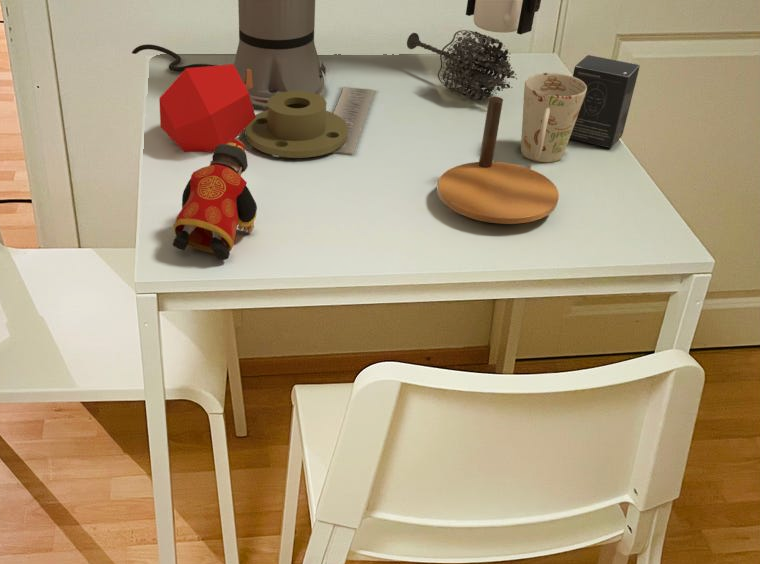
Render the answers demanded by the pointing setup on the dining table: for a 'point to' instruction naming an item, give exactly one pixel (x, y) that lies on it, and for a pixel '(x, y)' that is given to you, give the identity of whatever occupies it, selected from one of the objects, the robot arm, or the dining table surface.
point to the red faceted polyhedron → (206, 107)
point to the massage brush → (471, 64)
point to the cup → (497, 15)
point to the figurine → (216, 203)
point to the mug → (549, 114)
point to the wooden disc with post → (497, 184)
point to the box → (604, 99)
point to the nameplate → (352, 115)
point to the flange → (297, 126)
